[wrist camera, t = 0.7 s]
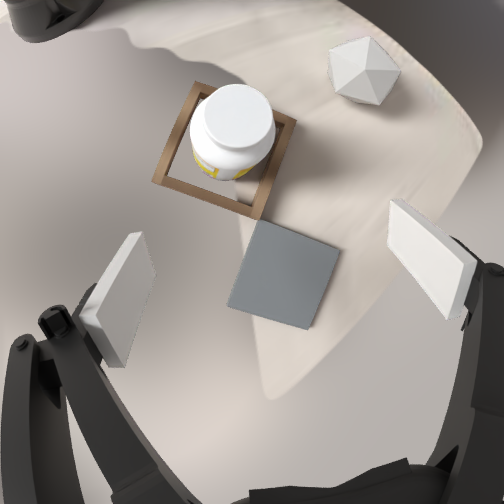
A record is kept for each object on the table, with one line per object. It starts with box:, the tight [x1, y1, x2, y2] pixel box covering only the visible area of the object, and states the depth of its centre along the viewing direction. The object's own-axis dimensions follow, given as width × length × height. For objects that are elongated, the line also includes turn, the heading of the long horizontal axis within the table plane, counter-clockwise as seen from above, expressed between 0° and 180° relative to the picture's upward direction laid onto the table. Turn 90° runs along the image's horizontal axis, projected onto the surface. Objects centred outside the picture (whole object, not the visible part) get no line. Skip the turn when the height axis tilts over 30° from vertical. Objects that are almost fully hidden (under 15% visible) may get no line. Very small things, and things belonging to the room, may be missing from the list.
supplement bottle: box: [190, 84, 275, 181], centre depth 24 cm, size 7×7×13 cm
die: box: [328, 36, 401, 105], centre depth 28 cm, size 8×9×10 cm
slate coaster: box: [227, 219, 340, 330], centre depth 33 cm, size 10×10×1 cm
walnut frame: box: [152, 81, 297, 220], centre depth 30 cm, size 12×12×2 cm
